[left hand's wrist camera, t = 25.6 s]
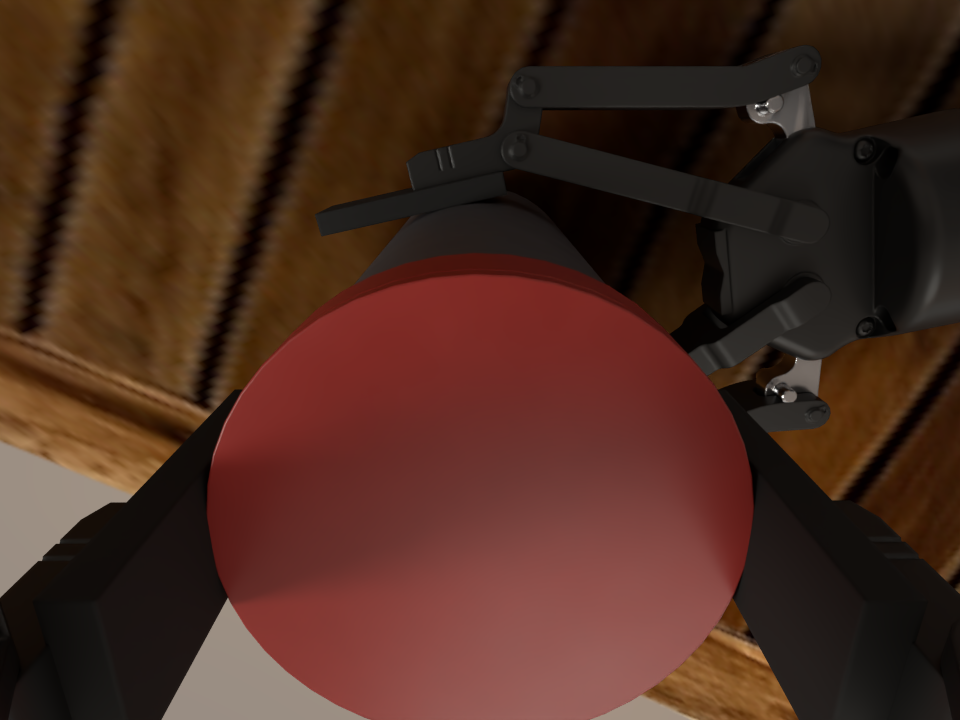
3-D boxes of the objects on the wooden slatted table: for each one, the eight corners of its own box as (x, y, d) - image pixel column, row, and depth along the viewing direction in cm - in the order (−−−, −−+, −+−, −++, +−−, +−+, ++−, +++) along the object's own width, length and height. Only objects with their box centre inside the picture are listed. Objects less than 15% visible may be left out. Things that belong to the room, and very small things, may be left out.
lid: (745, 246, 11) (795, 267, 9) (692, 663, 14) (721, 737, 12) (205, 257, 11) (155, 280, 9) (276, 670, 14) (249, 743, 12)
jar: (513, 147, 27) (575, 172, 9) (604, 311, 30) (787, 572, 12) (351, 250, 29) (144, 437, 11) (451, 398, 31) (413, 741, 14)
